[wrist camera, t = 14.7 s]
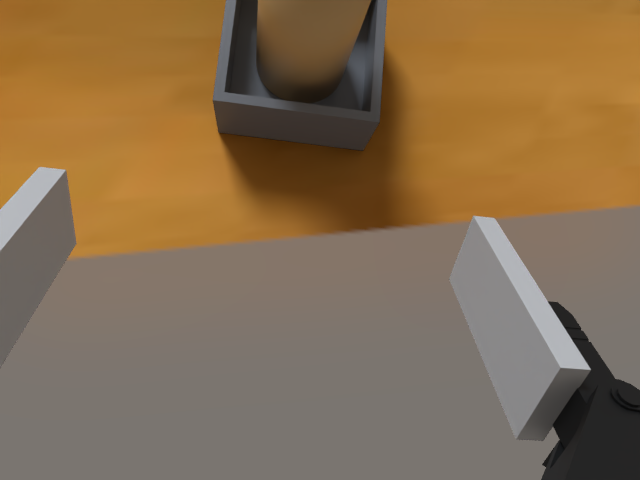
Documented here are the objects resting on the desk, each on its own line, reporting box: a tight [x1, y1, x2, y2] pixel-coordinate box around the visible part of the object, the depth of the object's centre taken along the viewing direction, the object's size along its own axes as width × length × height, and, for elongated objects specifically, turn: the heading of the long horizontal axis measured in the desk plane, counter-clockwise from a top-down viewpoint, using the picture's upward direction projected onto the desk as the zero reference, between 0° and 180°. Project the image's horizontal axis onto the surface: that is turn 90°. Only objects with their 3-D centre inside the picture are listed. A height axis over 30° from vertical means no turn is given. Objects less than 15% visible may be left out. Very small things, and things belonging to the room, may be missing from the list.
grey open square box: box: [213, 0, 387, 151], centre depth 28 cm, size 8×8×4 cm
